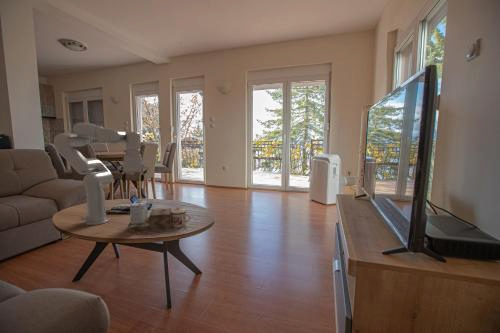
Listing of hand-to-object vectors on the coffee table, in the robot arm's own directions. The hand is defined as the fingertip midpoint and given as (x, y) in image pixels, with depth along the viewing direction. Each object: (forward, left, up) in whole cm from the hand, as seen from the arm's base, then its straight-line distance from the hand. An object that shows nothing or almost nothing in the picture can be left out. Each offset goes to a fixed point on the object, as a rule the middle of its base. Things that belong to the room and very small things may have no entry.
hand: (133, 180), depth 142 cm
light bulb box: (+4, -7, -23) cm, 24 cm away
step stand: (+10, -10, -27) cm, 30 cm away
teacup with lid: (+27, -8, -27) cm, 39 cm away
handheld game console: (-3, +37, -28) cm, 46 cm away
